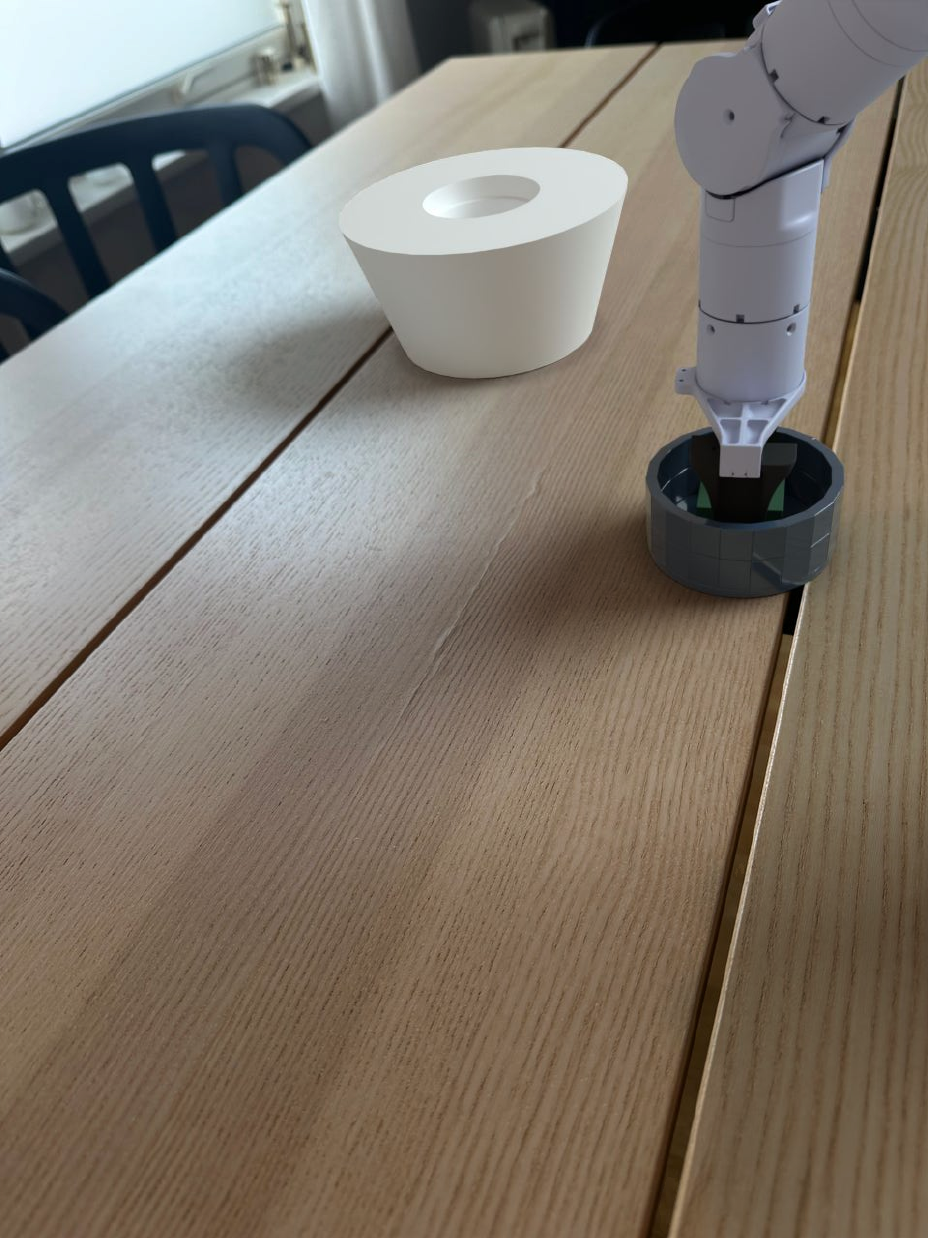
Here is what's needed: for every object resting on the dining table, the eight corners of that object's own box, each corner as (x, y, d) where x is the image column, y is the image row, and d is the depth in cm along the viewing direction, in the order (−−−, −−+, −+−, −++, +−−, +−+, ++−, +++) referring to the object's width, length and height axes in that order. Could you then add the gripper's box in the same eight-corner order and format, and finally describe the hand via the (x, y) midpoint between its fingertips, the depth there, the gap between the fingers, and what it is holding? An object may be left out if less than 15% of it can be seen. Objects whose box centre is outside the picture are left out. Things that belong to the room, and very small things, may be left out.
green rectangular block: (781, 516, 62) (784, 477, 60) (779, 550, 60) (782, 510, 58) (700, 513, 64) (701, 474, 62) (695, 546, 61) (696, 507, 59)
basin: (834, 490, 64) (843, 424, 61) (835, 604, 56) (846, 534, 53) (658, 484, 68) (657, 421, 64) (636, 591, 60) (634, 525, 56)
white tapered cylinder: (568, 255, 99) (559, 129, 92) (681, 348, 82) (682, 200, 74) (341, 317, 96) (312, 191, 88) (407, 428, 78) (378, 282, 70)
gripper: (689, 247, 58) (686, 445, 67) (660, 366, 48) (661, 581, 57) (815, 243, 56) (795, 447, 65) (813, 366, 46) (789, 589, 55)
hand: (740, 510), depth 61 cm, fingers open, 5 cm apart
